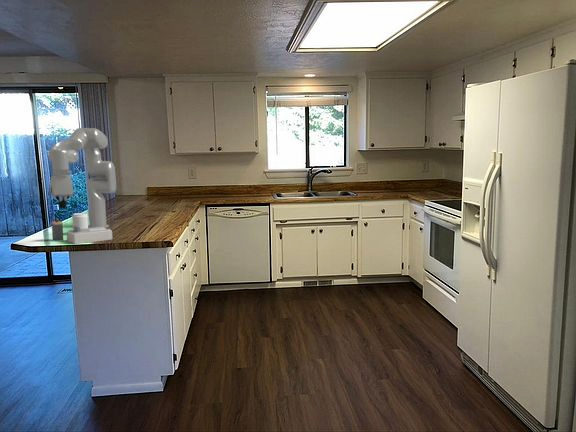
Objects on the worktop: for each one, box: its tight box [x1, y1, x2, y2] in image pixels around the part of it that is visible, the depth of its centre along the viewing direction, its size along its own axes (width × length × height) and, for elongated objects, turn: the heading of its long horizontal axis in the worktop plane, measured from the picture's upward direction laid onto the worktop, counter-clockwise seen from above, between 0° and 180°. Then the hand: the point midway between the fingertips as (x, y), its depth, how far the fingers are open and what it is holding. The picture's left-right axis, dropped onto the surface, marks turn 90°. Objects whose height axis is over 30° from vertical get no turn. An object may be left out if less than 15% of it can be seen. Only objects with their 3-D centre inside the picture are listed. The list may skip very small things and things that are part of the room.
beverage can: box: [71, 212, 89, 230], centre depth 266 cm, size 8×8×12 cm
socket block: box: [66, 227, 113, 245], centre depth 249 cm, size 12×20×6 cm, turn 134°
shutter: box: [72, 226, 90, 232], centre depth 246 cm, size 7×7×3 cm
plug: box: [51, 218, 64, 242], centre depth 248 cm, size 5×4×12 cm
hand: (62, 208), depth 238 cm, fingers closed
